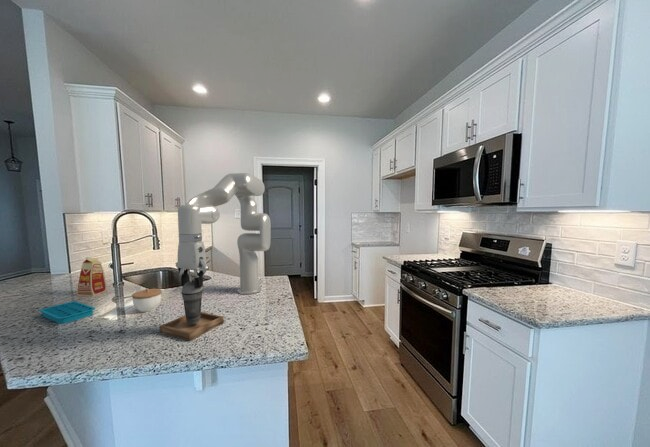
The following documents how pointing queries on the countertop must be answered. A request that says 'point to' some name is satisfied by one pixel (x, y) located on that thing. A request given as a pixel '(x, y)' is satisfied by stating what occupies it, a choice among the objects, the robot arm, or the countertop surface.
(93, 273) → the milk carton
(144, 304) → the lidded jar
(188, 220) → the robot arm
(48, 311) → the ice cube tray
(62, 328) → the countertop surface
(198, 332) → the walnut tray
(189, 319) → the beverage cup
